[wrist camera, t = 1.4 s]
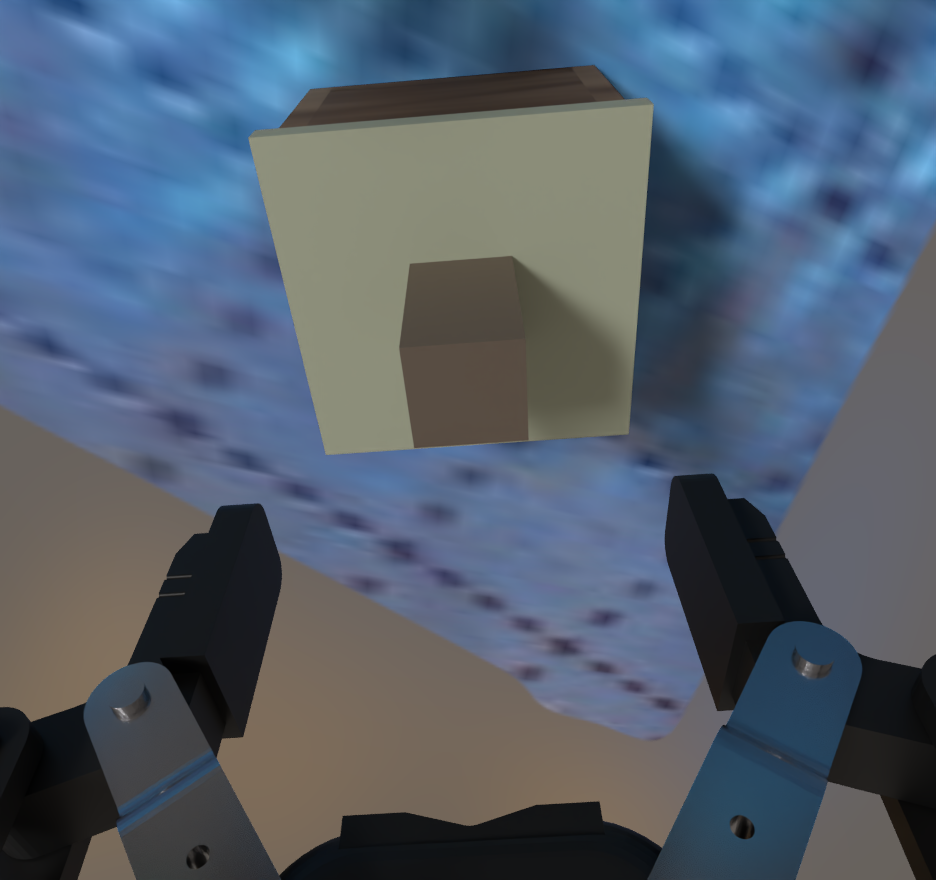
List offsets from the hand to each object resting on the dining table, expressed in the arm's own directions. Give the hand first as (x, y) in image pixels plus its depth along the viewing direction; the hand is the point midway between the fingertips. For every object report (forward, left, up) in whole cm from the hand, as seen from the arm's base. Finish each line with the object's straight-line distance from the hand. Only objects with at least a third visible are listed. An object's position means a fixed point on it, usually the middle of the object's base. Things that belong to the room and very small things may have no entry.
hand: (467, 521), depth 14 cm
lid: (0, 0, -10) cm, 10 cm away
